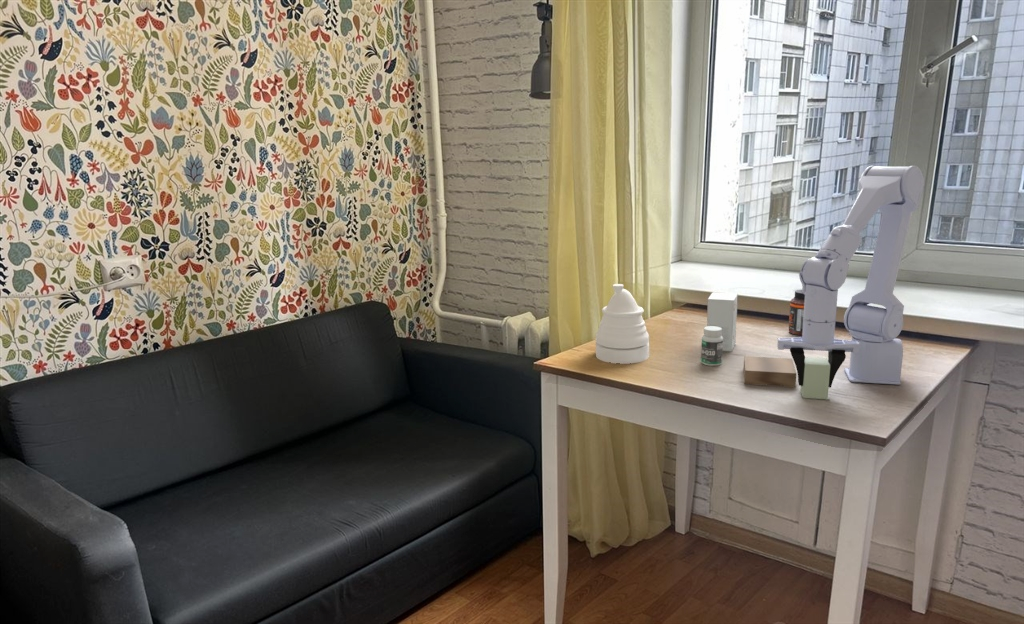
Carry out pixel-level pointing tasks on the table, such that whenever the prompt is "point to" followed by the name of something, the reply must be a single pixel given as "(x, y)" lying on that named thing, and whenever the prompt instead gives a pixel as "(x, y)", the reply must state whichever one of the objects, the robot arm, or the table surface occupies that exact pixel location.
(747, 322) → the table surface
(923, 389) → the table surface
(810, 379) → the sage block
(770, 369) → the walnut base
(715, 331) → the pill bottle
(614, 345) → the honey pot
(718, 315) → the small box
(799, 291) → the supplement bottle
